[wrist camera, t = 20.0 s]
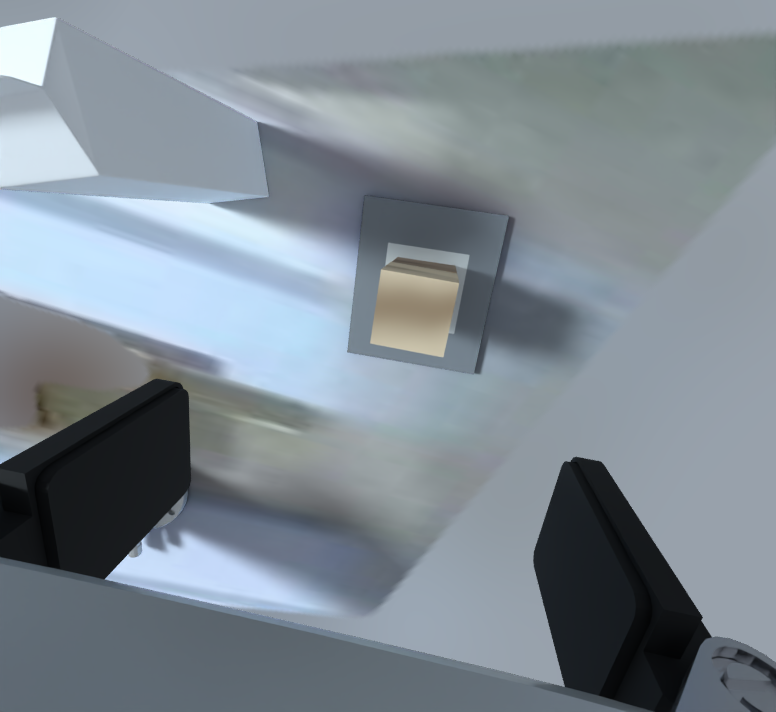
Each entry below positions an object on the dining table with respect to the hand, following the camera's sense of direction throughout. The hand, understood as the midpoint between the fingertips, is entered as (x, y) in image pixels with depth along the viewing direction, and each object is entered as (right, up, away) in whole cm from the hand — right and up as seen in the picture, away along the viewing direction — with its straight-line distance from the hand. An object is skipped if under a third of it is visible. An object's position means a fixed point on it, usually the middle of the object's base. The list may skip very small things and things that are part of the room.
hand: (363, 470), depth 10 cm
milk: (-13, +19, +26) cm, 35 cm away
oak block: (+3, +7, +21) cm, 23 cm away
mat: (+4, +9, +27) cm, 28 cm away
